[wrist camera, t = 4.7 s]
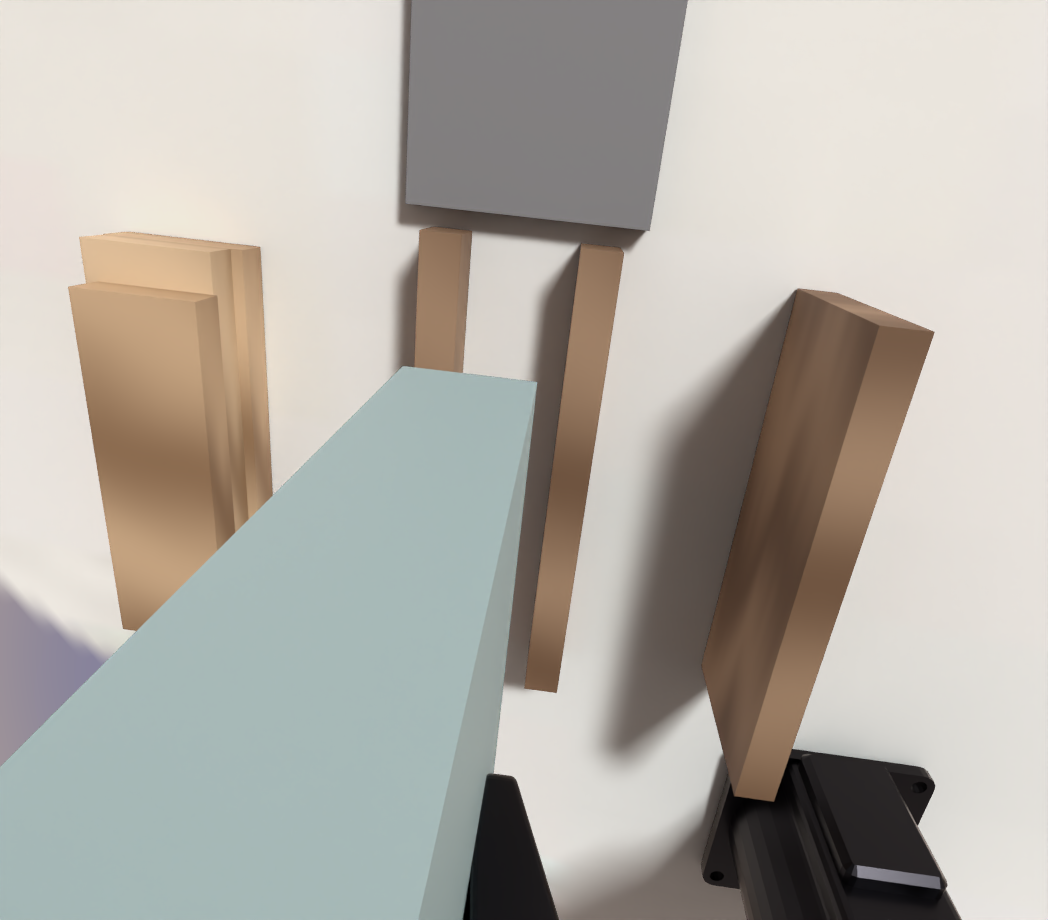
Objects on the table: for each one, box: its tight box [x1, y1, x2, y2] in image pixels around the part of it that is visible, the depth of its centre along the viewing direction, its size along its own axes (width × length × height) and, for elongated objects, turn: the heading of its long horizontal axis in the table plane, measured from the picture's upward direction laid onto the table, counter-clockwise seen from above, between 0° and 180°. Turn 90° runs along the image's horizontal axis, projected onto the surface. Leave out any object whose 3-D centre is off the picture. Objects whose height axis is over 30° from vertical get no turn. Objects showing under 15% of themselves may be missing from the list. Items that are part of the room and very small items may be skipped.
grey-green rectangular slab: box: [0, 366, 537, 920], centre depth 8 cm, size 10×2×8 cm, turn 174°
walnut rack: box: [414, 227, 934, 802], centre depth 17 cm, size 13×10×5 cm
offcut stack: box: [68, 232, 273, 631], centre depth 18 cm, size 11×4×3 cm, turn 174°
